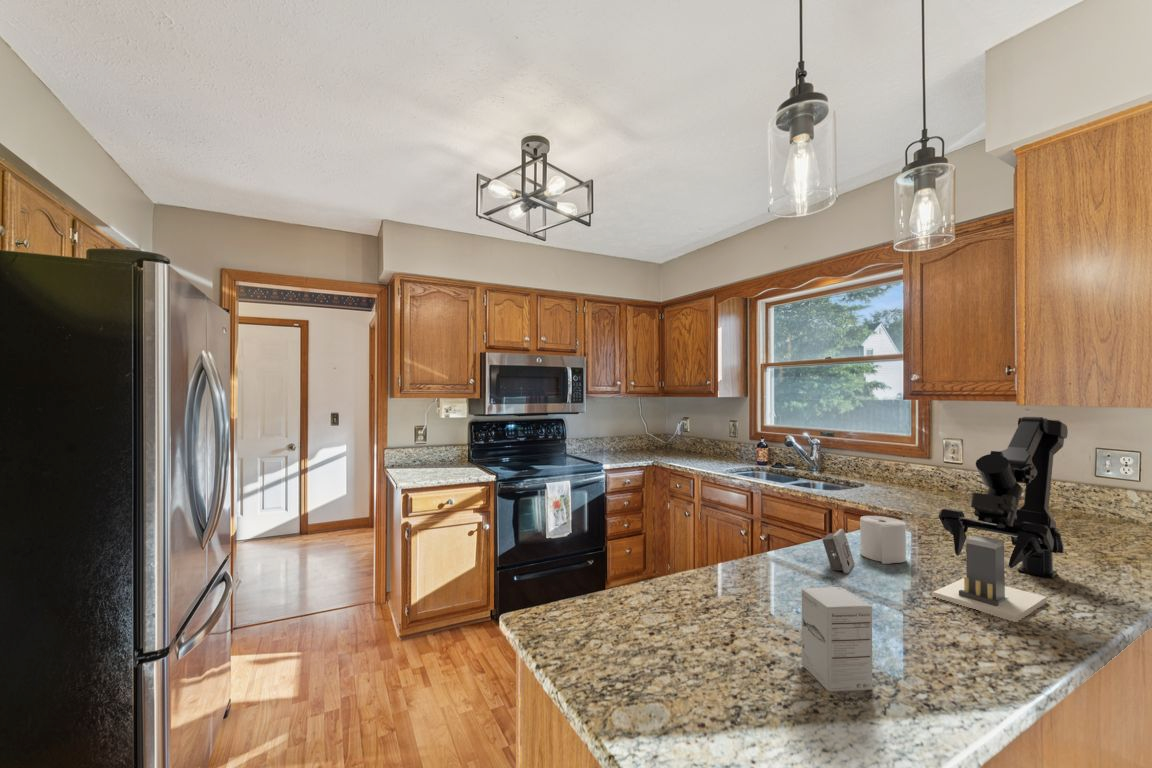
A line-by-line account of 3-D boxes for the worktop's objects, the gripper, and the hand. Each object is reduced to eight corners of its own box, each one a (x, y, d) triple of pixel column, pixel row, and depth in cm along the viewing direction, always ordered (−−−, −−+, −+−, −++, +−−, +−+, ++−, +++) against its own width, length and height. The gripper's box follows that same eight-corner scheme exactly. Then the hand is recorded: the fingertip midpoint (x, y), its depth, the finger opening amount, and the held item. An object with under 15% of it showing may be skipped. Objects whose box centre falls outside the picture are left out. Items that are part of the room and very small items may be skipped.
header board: (967, 581, 117) (967, 559, 117) (1046, 602, 105) (1046, 577, 105) (933, 597, 107) (932, 573, 107) (1016, 622, 95) (1015, 595, 95)
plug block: (975, 589, 108) (975, 534, 108) (1004, 597, 104) (1003, 540, 104) (966, 594, 105) (966, 538, 106) (996, 602, 101) (995, 544, 102)
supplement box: (800, 665, 79) (799, 587, 80) (843, 663, 80) (842, 585, 80) (827, 693, 72) (826, 606, 72) (874, 691, 73) (873, 605, 73)
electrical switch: (848, 575, 120) (843, 536, 121) (825, 572, 123) (821, 534, 124) (855, 565, 128) (850, 529, 128) (833, 562, 131) (829, 527, 132)
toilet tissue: (888, 550, 140) (888, 515, 140) (919, 565, 128) (919, 526, 128) (852, 550, 139) (851, 515, 140) (879, 565, 127) (879, 526, 128)
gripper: (941, 473, 115) (920, 527, 109) (1048, 486, 100) (1030, 549, 93) (956, 503, 119) (936, 556, 113) (1061, 519, 104) (1045, 583, 97)
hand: (982, 560), depth 104 cm, fingers open, 9 cm apart
